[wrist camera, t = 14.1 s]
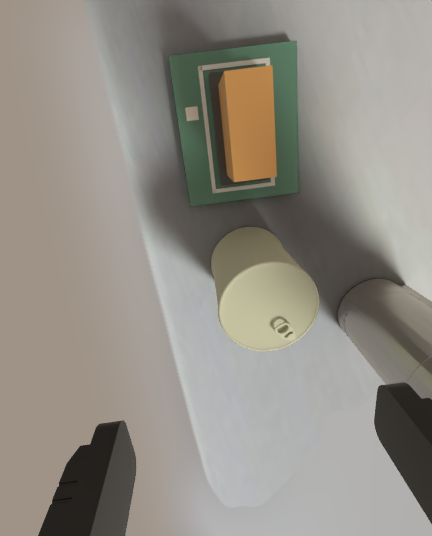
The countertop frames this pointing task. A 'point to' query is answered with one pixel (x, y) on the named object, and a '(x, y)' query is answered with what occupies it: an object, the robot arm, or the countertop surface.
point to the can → (261, 291)
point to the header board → (280, 113)
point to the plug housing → (248, 123)
